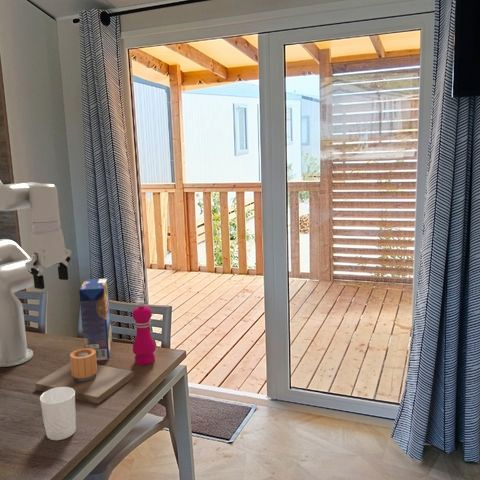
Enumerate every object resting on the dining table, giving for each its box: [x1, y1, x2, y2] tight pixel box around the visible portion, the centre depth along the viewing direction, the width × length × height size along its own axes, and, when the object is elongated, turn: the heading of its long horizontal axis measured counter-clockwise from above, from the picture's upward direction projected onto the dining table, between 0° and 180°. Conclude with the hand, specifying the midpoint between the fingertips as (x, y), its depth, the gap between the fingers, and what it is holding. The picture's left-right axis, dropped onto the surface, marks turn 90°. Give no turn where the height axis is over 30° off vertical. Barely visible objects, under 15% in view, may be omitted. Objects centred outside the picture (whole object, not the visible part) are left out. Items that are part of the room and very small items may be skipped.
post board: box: [34, 353, 134, 405], centre depth 142 cm, size 22×16×9 cm
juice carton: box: [78, 277, 113, 361], centre depth 161 cm, size 12×8×24 cm, turn 9°
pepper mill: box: [132, 300, 157, 366], centre depth 155 cm, size 7×7×20 cm
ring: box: [69, 347, 98, 378], centre depth 141 cm, size 7×7×6 cm
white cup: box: [39, 387, 77, 441], centre depth 117 cm, size 8×8×10 cm
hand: (51, 283), depth 144 cm, fingers open, 9 cm apart
